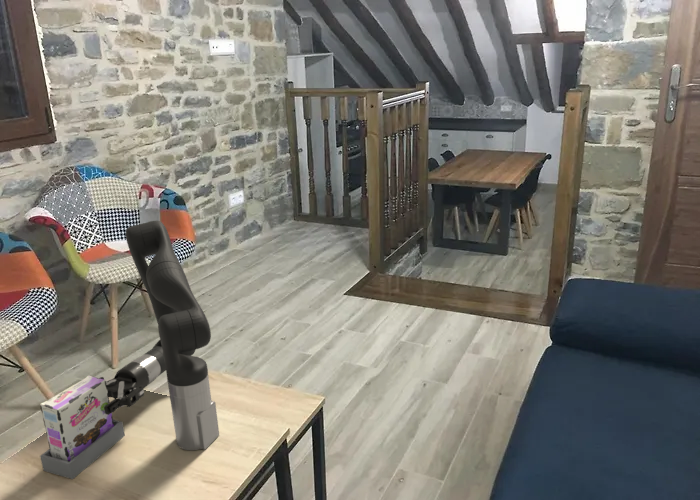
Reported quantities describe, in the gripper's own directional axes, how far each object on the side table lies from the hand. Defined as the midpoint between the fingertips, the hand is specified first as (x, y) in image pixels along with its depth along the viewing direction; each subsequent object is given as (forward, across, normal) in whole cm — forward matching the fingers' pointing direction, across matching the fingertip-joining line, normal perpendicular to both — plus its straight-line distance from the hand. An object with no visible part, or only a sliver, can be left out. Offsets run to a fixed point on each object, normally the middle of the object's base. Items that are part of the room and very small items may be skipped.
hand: (92, 407), depth 141 cm
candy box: (+4, 0, +10) cm, 11 cm away
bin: (+4, 0, +10) cm, 10 cm away
